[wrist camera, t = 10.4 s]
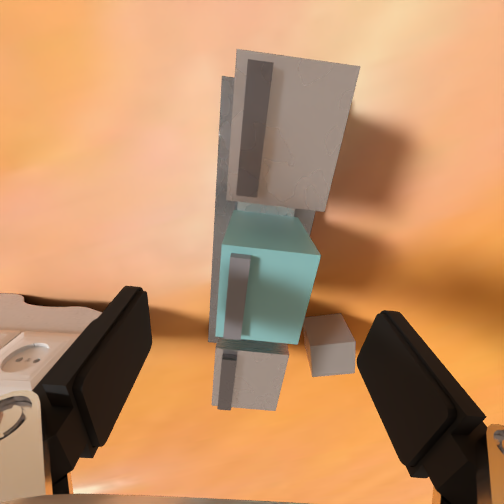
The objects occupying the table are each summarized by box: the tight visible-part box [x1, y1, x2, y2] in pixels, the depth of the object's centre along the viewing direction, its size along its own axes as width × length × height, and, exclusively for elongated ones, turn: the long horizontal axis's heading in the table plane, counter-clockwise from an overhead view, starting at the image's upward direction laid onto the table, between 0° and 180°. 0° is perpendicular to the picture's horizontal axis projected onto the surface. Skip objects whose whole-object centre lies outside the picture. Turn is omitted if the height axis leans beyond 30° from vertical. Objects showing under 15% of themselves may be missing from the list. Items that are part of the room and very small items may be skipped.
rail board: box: [208, 49, 360, 411], centre depth 17 cm, size 23×8×8 cm, turn 173°
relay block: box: [303, 313, 356, 377], centre depth 24 cm, size 4×4×4 cm
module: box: [215, 210, 321, 345], centre depth 16 cm, size 6×5×8 cm
